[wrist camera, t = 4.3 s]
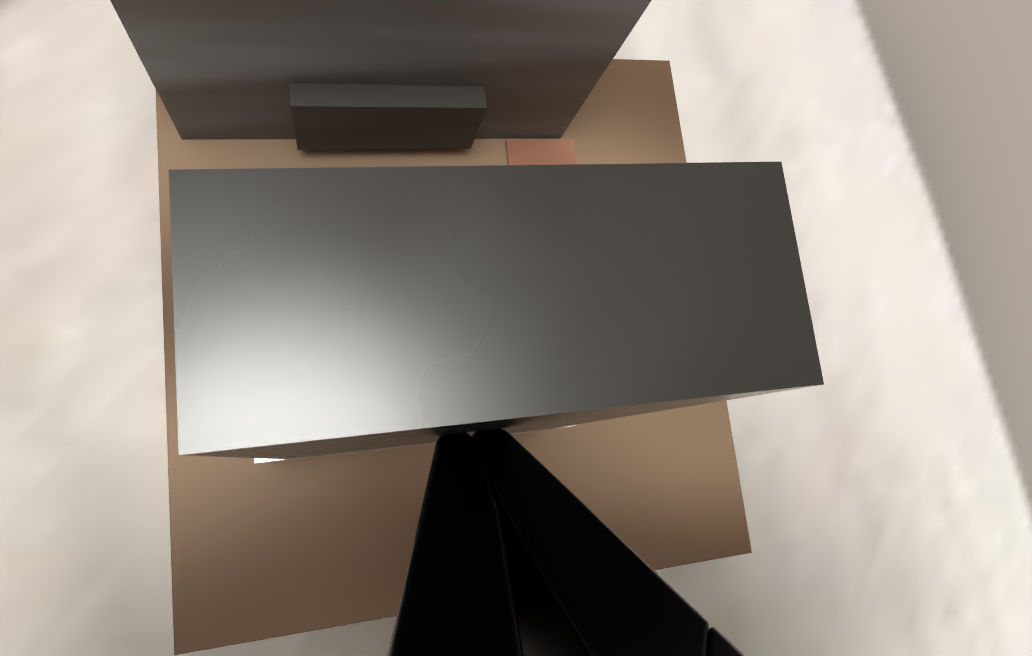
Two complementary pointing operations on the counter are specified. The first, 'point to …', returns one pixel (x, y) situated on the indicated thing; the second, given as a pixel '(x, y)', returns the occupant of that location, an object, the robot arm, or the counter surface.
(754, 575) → the counter surface
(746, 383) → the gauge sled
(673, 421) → the base
